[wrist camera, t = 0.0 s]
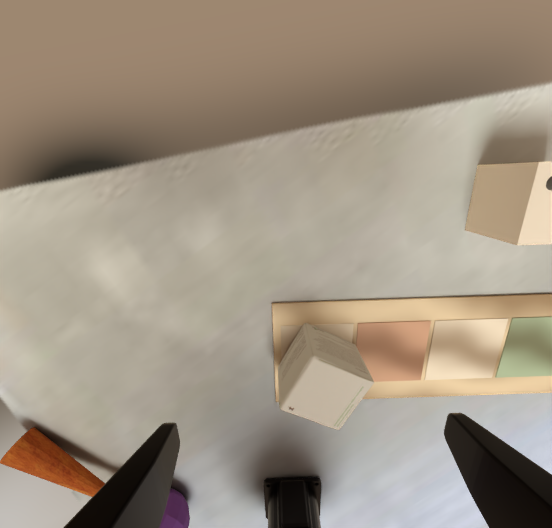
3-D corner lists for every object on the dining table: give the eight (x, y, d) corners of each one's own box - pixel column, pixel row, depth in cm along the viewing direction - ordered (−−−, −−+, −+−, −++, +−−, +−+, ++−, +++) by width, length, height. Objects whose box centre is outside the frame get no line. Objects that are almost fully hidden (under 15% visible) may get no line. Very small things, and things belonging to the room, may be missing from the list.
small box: (327, 388, 26) (339, 433, 22) (275, 367, 25) (276, 410, 21) (358, 343, 25) (378, 383, 20) (304, 319, 24) (311, 355, 19)
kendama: (6, 445, 24) (192, 549, 26) (56, 402, 30) (204, 491, 32) (-31, 495, 24) (157, 593, 27) (26, 443, 30) (175, 527, 32)
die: (525, 227, 22) (601, 243, 17) (464, 229, 22) (521, 246, 17) (542, 162, 20) (632, 158, 15) (476, 164, 20) (545, 161, 15)
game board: (560, 390, 27) (563, 392, 27) (275, 400, 27) (275, 402, 27) (598, 292, 24) (602, 293, 23) (271, 303, 24) (271, 304, 23)
